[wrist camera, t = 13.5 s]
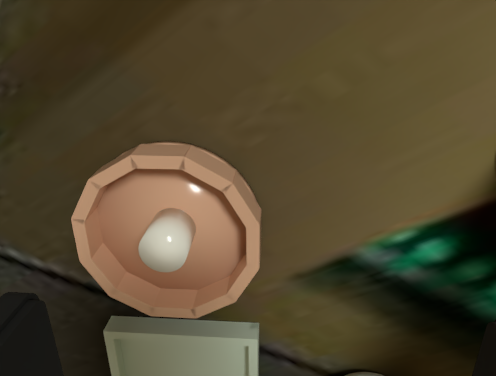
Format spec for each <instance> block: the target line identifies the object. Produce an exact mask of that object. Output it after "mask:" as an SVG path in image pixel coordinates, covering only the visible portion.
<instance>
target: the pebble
mask: <svg viewBox="0 0 496 376" xmlns="http://www.w3.org/2000/svg"><path fill="white" fill-rule="evenodd" d="M195 233H196V226H195V223H194V221H193V219H192V218H191V216H190V215H189V214H187V213H186V212H184V211H182V210H180V209H176V208H166V209H163V210H161V211H159V212H158V213H157V214H156V215H155V217H154V218H153V220H152V222H151V223H150V225H149V227H148V229H147V230H146V232H145V234H144V236H143V237H142V239H141V241H140V243H139V248H138V250H139V255H140V257H141V259H142V261H143V262H144V263H145V264H146V265H147V266H148V267H150V268H151V269H153V270H155V271H159V272H173V271H176V270H178V269H179V268H181V267H182V266H183V264H184V263H185V261H186V258H187V255H188V253H189V250H190V247H191V244H192V242H193V239H194V236H195Z"/></svg>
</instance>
